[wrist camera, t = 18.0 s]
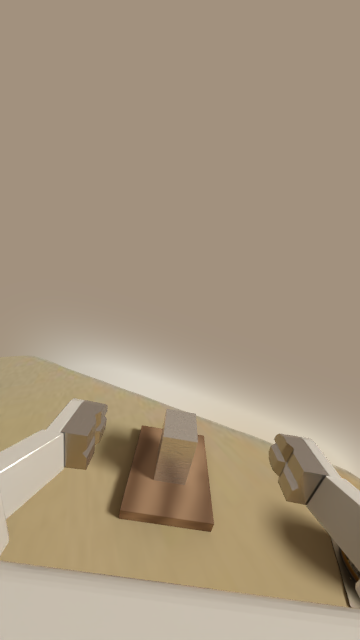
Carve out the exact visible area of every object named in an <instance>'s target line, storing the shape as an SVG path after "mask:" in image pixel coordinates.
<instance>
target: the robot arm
mask: <svg viewBox="0 0 360 640" xmlns="http://www.w3.org/2000/svg"><path fill="white" fill-rule="evenodd" d="M106 412H107V405H106V404H101V403H96V402H91V401H86V400H80V399H75V398H74V399H72V400H71V401H70V402H69V403H68V404H67V405H66V407H65V408H64V409H63V410H62V411H61V412H60V414H59V415H58V416H57V417H56V418H55V420H54V421H53V422H52V423H51V424H50V425H49V427H48V428H47V429H46V430H40V431H38V432H36V433H35V434H33V435H31V436H29V437H27V438H25V439H23V440H22V441H20V442H18V443H16V444H14V445H12V446H10V447H9V448H7V449H5V450H3V451H1V452H0V555H1V553H2V552H3V550H4V548H5V547H6V545H7V544H8V542H9V533H8V527H7V522H6V519H7V518H8V517H9V516H10V515H11V514H13V513H14V512H15V511H16V510H17V509H18V508H19V507H21V506H22V505H23V504H24V503H25V502H26V501H27V500H29V499H30V498H31V497H32V496H33V495H34V494H35V493H37V492H38V491H39V490H40V489H41V488H42V487H44V486H45V485H46V484H47V483H48V482H49V481H50V480H52V479H53V478H54V477H55V476H56V475H57V474H58V473H60V472H61V471H62V470H63V469H64V467H66V468H74V469H83V470H86V469H87V467H88V465H89V462H90V460H91V458H92V456H93V454H94V450H95V445H96V444H97V443H99V442H100V440H101V437H102V435H103V432H104V429H105V426H106V417H105V414H106ZM275 442H276V443H275V444H274V445H272V446H271V447H270V450H269V461H270V465H271V467H272V469H273V471H274V472H275V473H276V474H277V475H278V476H279V478H278V483H279V485H280V488H281V490H282V492H283V495H284V497H285V499H286V501H288V502H293V503H299V504H304V505H307V506H306V507H307V508H308V509H309V510H310V512H311V513H312V514H313V515H314V516H315V518H316V519H317V520H318V521H319V523H320V524H321V525H322V526H323V527H324V529H325V530H326V531H327V532H328V534H329V535H330V536H331V537H332V538H333V540H334V541H335V542H336V543H337V545H338V546H339V547H340V548H341V549H342V551H343V552H344V553H345V554H346V556H347V557H348V558H349V559H350V560H351V562H352V563H353V564H354V565H355V567H356V568H357V569H358V570H359V571H360V491H359V490H358V489H357V488H356V487H354V486H353V485H352V484H351V483H349V482H348V481H347V480H346V479H342V478H341V477H340V475H339V474H338V473H337V471H336V470H335V469H334V467H333V466H332V465H331V463H330V462H329V461H328V459H327V458H326V457H325V455H324V454H323V453H322V451H321V450H320V449H319V447H318V446H317V445H316V443H315V442H314V441H313V440H311V439H309V438H302V437H297V436H290V435H284V434H278V435H276V437H275ZM355 589H356V591H357V593H358V595H359V597H360V580H359V581H358V582H357V583H356V586H355ZM0 640H360V609H358V608H350V607H343V606H336V605H328V604H321V603H313V602H306V601H298V600H291V599H283V598H276V597H269V596H261V595H254V594H246V593H239V592H231V591H224V590H217V589H209V588H202V587H194V586H187V585H179V584H172V583H165V582H157V581H150V580H142V579H135V578H127V577H120V576H112V575H105V574H97V573H90V572H83V571H75V570H68V569H60V568H53V567H45V566H38V565H30V564H23V563H15V562H8V561H1V560H0Z"/></svg>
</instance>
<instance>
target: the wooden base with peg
mask: <svg viewBox="0 0 360 640" xmlns="http://www.w3.org/2000/svg"><path fill="white" fill-rule="evenodd" d="M161 433H162V429H160V428H154V427H148V426H142V428H141V432H140V436H139V439H138V443H137V447H136V451H135V455H134V458H133V462H132V466H131V470H130V474H129V478H128V481H127V485H126V489H125V493H124V497H123V500H122V504H121V508H120V514H119V518H120V519H127V520H134V521H140V522H147V523H154V524H161V525H168V526H175V527H181V528H188V529H195V530H202V531H209V532H211V530H212V527H213V525H214V520H213V512H212V503H211V495H210V486H209V477H208V469H207V460H206V452H205V443H204V436H202V435H197V436H198V444H197V447H196V451H195V454H194V457H193V461H192V464H191V467H190V471H189V474H188V477H187V480H186V484H185V485H181V484H175V483H168V482H162V481H156V480H154V475H155V468H156V461H157V454H158V448H159V443H160V438H161Z"/></svg>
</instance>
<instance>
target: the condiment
mask: <svg viewBox="0 0 360 640" xmlns="http://www.w3.org/2000/svg"><path fill="white" fill-rule="evenodd" d="M331 540H332V543H333V547H334V551H335V554H336V557H337V561H338V564H339V567H340V571H341V575H342V578H343V582H344V586H345V589H346V592H347V595H348V599H349V603H350V606H351V607H352V608H358V609H360V597H359V595H358V593H357V591H356V589H355V586H356V583H357V582H358V581H359V580H360V571H359V570H358V569H357V568H356V567H355V565H354V564H353V563H352V562H351V560H350V559H349V558H348V557H347V556H346V554H345V553H344V552H343V551H342V549H341V548H340V547H339V546H338V545H337V543H336V542H335V541H334V540H333V538H332V537H331ZM350 578H351V579H350Z"/></svg>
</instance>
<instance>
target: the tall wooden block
mask: <svg viewBox="0 0 360 640" xmlns="http://www.w3.org/2000/svg"><path fill="white" fill-rule="evenodd" d="M197 444H198V436H197V424H196V414H194V413H188V412H182V411H176V410H170V409H167V410H166V415H165V419H164V424H163V429H162V433H161V438H160V443H159V448H158V454H157V461H156V468H155V475H154V480H156V481H162V482H168V483H175V484H181V485H185V484H186V480H187V477H188V474H189V471H190V467H191V464H192V461H193V457H194V454H195V451H196V447H197Z"/></svg>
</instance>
